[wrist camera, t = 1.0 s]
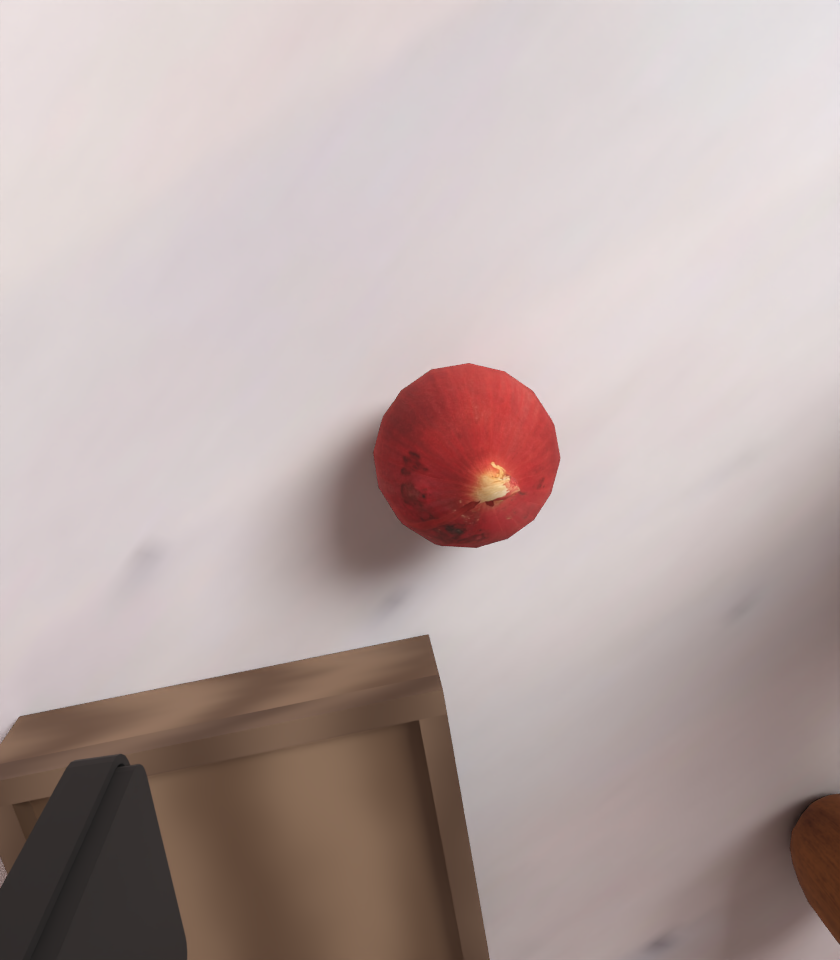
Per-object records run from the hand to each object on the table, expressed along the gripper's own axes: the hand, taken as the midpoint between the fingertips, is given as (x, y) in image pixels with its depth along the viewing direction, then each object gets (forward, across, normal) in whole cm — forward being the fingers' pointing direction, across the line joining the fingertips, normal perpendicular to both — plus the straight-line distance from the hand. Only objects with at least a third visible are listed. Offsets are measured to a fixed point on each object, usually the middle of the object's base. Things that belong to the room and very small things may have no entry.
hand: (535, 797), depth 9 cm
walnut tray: (+19, +8, +16) cm, 26 cm away
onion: (+19, -2, 0) cm, 19 cm away
